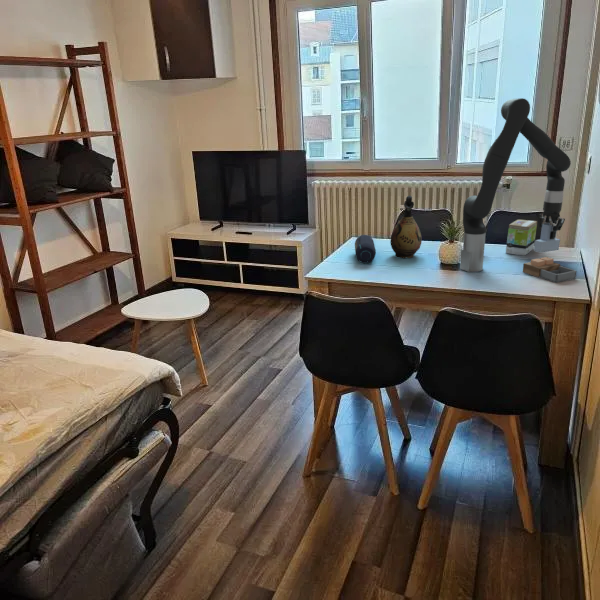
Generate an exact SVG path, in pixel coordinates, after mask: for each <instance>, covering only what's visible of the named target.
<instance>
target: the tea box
mask: <svg viewBox="0 0 600 600" xmlns="http://www.w3.org/2000/svg"><path fill="white" fill-rule="evenodd" d="M537 227H538V220H528V219H527V220H526V219H516V220H515V221H512V222H511V223H510V224H509V225H508V230H507V231H508V232H507V238H506V239H507V240H506V246H505V253H506V254H509V255H510V254H511V255H518V256H526V255H527V254H528V253H530V252H531V251H534V245H535V240H536V234H537Z"/></svg>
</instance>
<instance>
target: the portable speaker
mask: <svg viewBox="0 0 600 600" xmlns="http://www.w3.org/2000/svg"><path fill="white" fill-rule="evenodd" d="M376 251H377V250H376V245H375V242H374V239H373V238H372V237H371V236H370V235H368V234H362V235H359V236H358V237H357V238H356V239H355V241H354V253H355V258H356V260H357V261H358V262H360V263H363V264H369V263H372V262H373V261H374V259H375V257H376V254H377V253H376Z"/></svg>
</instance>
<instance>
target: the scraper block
mask: <svg viewBox="0 0 600 600" xmlns="http://www.w3.org/2000/svg"><path fill="white" fill-rule="evenodd" d="M541 224H542V223H541ZM540 231H541V232H540V237H539V239H535V243H534V249H533V252H537V253H541V254H542V253H546V252H554V251H555V252H556V251H559V250H560V244H561V243H560V242H561V239H560V238H557V234H556V235H555V238H554V239H550V233H551V226H550V224H542V228H541V230H540ZM556 233H557V231H556Z"/></svg>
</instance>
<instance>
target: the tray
mask: <svg viewBox="0 0 600 600" xmlns="http://www.w3.org/2000/svg"><path fill="white" fill-rule="evenodd" d="M539 278H540V279H543V280H546V281H550V282H552V283H555V284H558V283H562V282H566V281H572V280H575V279H576V278H577V270H575V269H571V268H569V267H565V266H562V265H560V266H559V269H558V270H553V271H545V270H541V274H540V277H539Z"/></svg>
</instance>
